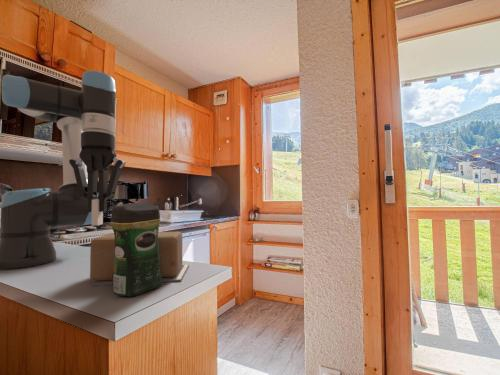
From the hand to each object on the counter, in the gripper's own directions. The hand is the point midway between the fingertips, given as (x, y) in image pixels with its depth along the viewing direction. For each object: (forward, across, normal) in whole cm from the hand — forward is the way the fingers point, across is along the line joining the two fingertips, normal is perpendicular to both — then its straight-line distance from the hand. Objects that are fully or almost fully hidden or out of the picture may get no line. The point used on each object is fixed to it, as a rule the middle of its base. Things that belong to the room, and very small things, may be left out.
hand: (97, 224), depth 63 cm
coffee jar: (+13, +14, -11) cm, 22 cm away
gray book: (+13, +12, -1) cm, 18 cm away
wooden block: (+8, +1, -1) cm, 8 cm away
